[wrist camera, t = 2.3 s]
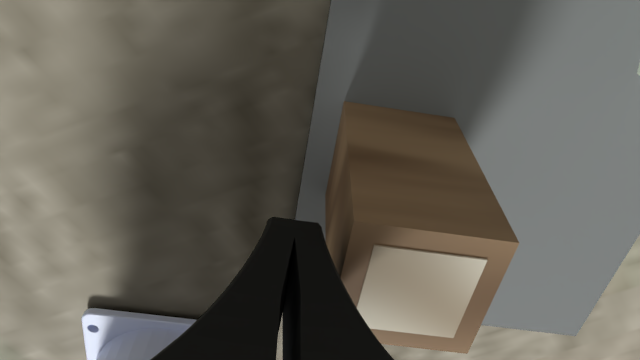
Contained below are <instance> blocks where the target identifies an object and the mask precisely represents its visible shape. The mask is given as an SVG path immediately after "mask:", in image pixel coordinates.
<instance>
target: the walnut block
mask: <svg viewBox="0 0 640 360" xmlns="http://www.w3.org/2000/svg"><path fill="white" fill-rule="evenodd" d="M325 234H326V245H327V247H328V250H329V253H330V255H331V258H332V260H333V263H334V265H335V267H336V269H337V271H338V274H339V276H340V278H341V280H342V282H343V284H344V286H345V288H346V290H347V292H348V294H349V295H350V297H351V299H352V301H353V303H354V304H355V306H356V308H357V309H358V311H359V313H360V314H361V316H362V318H363V319H364V321H365V322H366V324H367V325H368V327H369V328H370V330H371V331H372V332H373V334H374V335H375V337H376V338H377V339H378V341H379V342H380V343H381V344H387V345H396V346H405V347H414V348H422V349H431V350H440V351H449V352H458V353H468V351H469V349H470V347H471V345H472V343H473V341H474V338H475V336H476V334H477V332H478V330H479V328H480V326H481V324H482V321H483V319H484V317H485V315H486V313H487V311H488V309H489V307H490V305H491V302H492V300H493V298H494V296H495V294H496V292H497V290H498V288H499V285H500V283H501V281H502V279H503V277H504V275H505V273H506V271H507V269H508V266H509V264H510V262H511V260H512V258H513V256H514V254H515V252H516V249H517V247H518V245H519V241H518V239H517V237H516V235H515V233H514V231H513V230H512V228H511V226H510V224H509V222H508V220H507V218H506V216H505V214H504V212H503V210H502V208H501V206H500V204H499V203H498V201H497V199H496V197H495V195H494V193H493V191H492V189H491V187H490V185H489V183H488V181H487V179H486V177H485V175H484V174H483V172H482V170H481V168H480V166H479V164H478V162H477V160H476V158H475V156H474V154H473V152H472V150H471V148H470V147H469V145H468V143H467V141H466V139H465V137H464V135H463V133H462V131H461V129H460V127H459V125H458V123H457V121H456V120H455V118H452V117H446V116H439V115H432V114H426V113H419V112H413V111H406V110H399V109H393V108H386V107H379V106H373V105H366V104H360V103H353V102H346V101H344V103H343V108H342V113H341V118H340V123H339V128H338V134H337V139H336V144H335V149H334V154H333V159H332V164H331V169H330V174H329V179H328V184H327V189H326V194H325Z"/></svg>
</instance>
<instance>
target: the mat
mask: <svg viewBox="0 0 640 360" xmlns="http://www.w3.org/2000/svg"><path fill="white" fill-rule="evenodd" d="M639 63H640V0H331V3H330V9H329V15H328V21H327V27H326V33H325V39H324V45H323V51H322V57H321V64H320V70H319V76H318V82H317V88H316V94H315V100H314V106H313V112H312V118H311V125H310V131H309V137H308V143H307V149H306V155H305V161H304V167H303V173H302V179H301V185H300V192H299V198H298V204H297V210H296V216H295V220H300V221H308V222H316V223H319V224H320V226H321V227H322V231H323V235H324V238H325V242H326V234H325V194H326V189H327V184H328V179H329V174H330V169H331V164H332V159H333V154H334V149H335V144H336V139H337V134H338V128H339V123H340V118H341V113H342V108H343V103H344V101H346V102H353V103H360V104H366V105H373V106H379V107H386V108H393V109H399V110H406V111H413V112H419V113H426V114H432V115H439V116H446V117H452V118H455V120H456V121H457V123H458V125H459V127H460V129H461V131H462V133H463V135H464V137H465V139H466V141H467V143H468V145H469V147H470V148H471V150H472V152H473V154H474V156H475V158H476V160H477V162H478V164H479V166H480V168H481V170H482V172H483V174H484V175H485V177H486V179H487V181H488V183H489V185H490V187H491V189H492V191H493V193H494V195H495V197H496V199H497V201H498V203H499V204H500V206H501V208H502V210H503V212H504V214H505V216H506V218H507V220H508V222H509V224H510V226H511V228H512V230H513V231H514V233H515V235H516V237H517V239H518V241H519V245H518V247H517V249H516V252H515V254H514V256H513V258H512V260H511V262H510V264H509V266H508V269H507V271H506V273H505V275H504V277H503V279H502V281H501V283H500V285H499V288H498V290H497V292H496V294H495V296H494V298H493V300H492V302H491V305H490V307H489V309H488V311H487V313H486V315H485V317H484V319H483V321H482V324H481V325H486V326H495V327H503V328H512V329H520V330H529V331H537V332H545V333H554V334H562V335H571V336H576V335H577V333H578V332H579V330H580V329H581V327H582V325H583V324H584V322H585V321H586V319H587V317H588V316H589V314H590V313H591V311H592V309H593V308H594V306H595V305H596V303H597V301H598V300H599V298H600V297H601V295H602V293H603V292H604V290H605V289H606V287H607V285H608V284H609V282H610V281H611V279H612V277H613V276H614V274H615V273H616V271H617V269H618V268H619V266H620V265H621V263H622V261H623V260H624V258H625V257H626V255H627V253H628V252H629V250H630V249H631V247H632V246H633V244H634V242H635V241H636V239H637V238H638V236H639V234H640V75H638V74H637V72H638V68H639Z"/></svg>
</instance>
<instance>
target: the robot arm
mask: <svg viewBox="0 0 640 360" xmlns="http://www.w3.org/2000/svg"><path fill="white" fill-rule="evenodd" d="M282 312H283V360H394V359H393V358H392V357H391V356H390V355H389V353H388V352H387V351H386V350H385V349H384V347H383V346H382V345H381V343H380V342H379V341H378V339H377V338H376V337H375V335H374V334H373V332H372V331H371V330H370V328H369V327H368V325H367V324H366V322H365V321H364V319H363V318H362V316H361V314H360V313H359V311H358V309H357V308H356V306H355V304H354V303H353V301H352V299H351V297H350V295H349V294H348V292H347V290H346V288H345V286H344V284H343V282H342V280H341V278H340V276H339V274H338V271H337V269H336V267H335V265H334V263H333V260H332V258H331V255H330V253H329V250H328V247H327V245H326V242H325V238H324V235H323V231H322V227H321V226H320V224H319V223H316V222H308V221H300V220H292V219H284V218H276V217H272V218H270V219H269V220H268V221H267V225H266V227H265V230H264V232H263V234H262V236H261V238H260V240H259V242H258V244H257V245H256V247H255V249H254V251H253V252H252V254H251V255H250V257H249V258H248V260H247V261H246V263H245V264H244V266H243V267H242V269H241V270H240V271H239V273H238V274H237V275H236V277H235V278H234V279H233V281H232V282H231V283H230V285H229V286H228V287H227V288H226V290H225V291H224V292H223V293H222V294H221V295H220V297H219V298H218V299H217V300H216V301H215V302H214V303H213V304H212V305H211V307H210V308H209V309H208V310H207V311H206V312H205V313H204V314H203V315H202V316H201V317H200V318H199V319H198V320H195V319H186V318H178V317H169V316H160V315H151V314H143V313H134V312H125V311H116V310H107V309H99V308H89V309H87V310H86V311H85V312H84V314H83V316H82V326H83V334H84V342H85V349H86V357H87V360H276V350H277V337H278V331H279V327H280V322H281V317H282Z"/></svg>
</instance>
